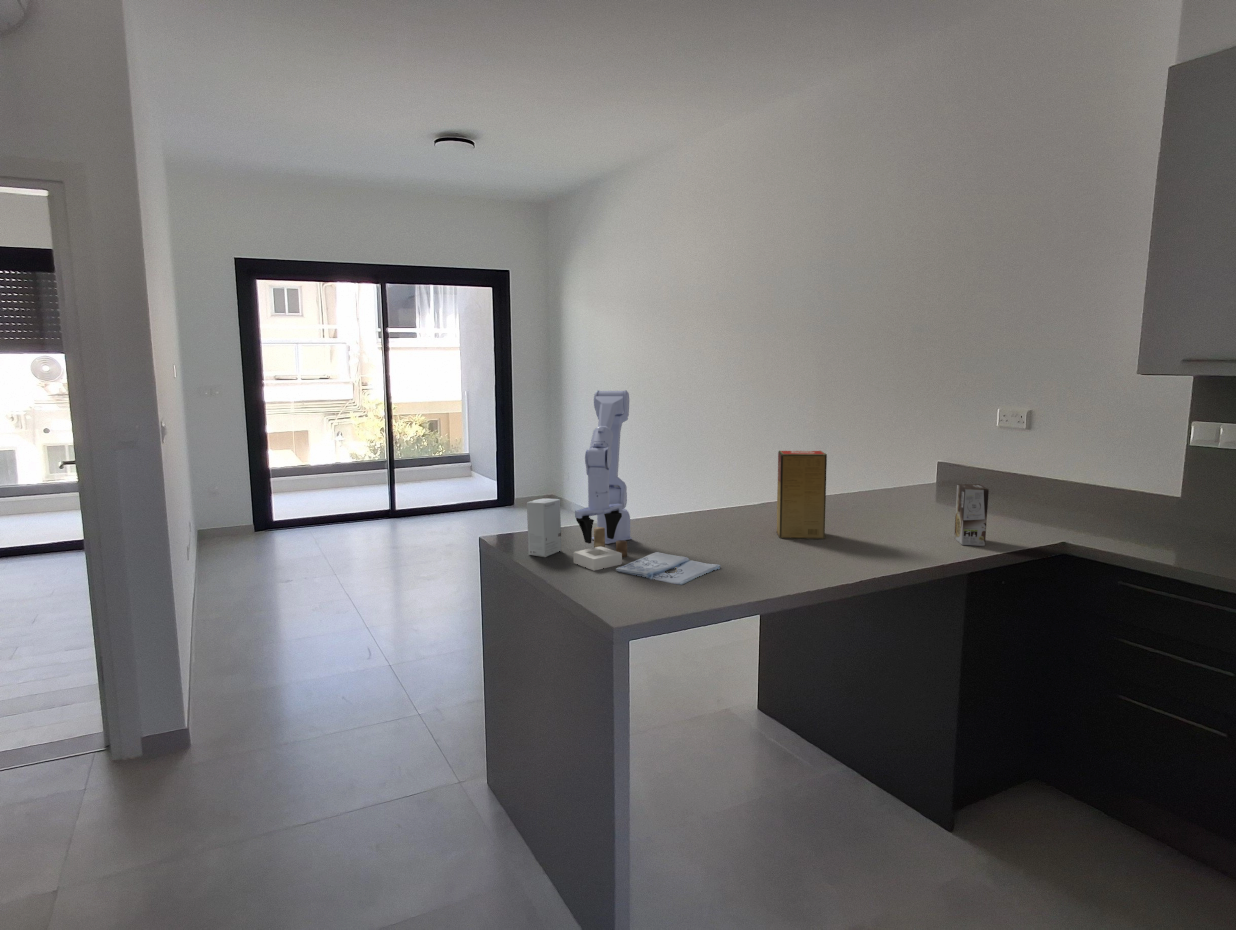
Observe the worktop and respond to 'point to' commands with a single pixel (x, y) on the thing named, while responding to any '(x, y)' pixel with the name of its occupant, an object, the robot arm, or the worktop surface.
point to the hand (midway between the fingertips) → (599, 540)
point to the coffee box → (971, 514)
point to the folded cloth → (667, 568)
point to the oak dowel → (599, 537)
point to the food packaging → (801, 494)
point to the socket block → (597, 558)
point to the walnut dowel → (622, 547)
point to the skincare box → (544, 527)
